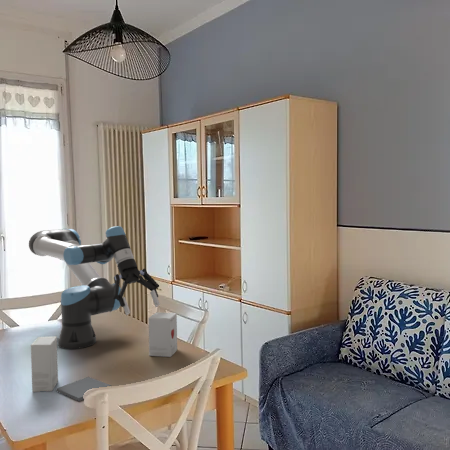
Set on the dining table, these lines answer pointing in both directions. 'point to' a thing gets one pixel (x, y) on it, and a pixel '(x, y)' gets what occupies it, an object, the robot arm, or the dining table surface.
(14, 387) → the dining table surface
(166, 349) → the supplement box
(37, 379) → the skincare box
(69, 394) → the slate mat
